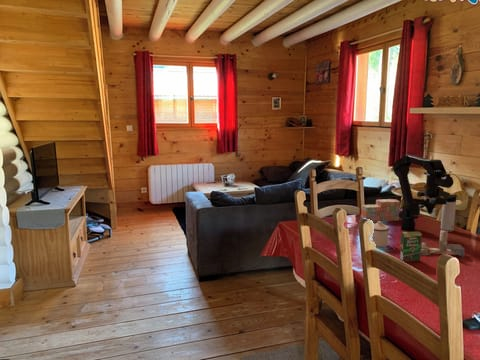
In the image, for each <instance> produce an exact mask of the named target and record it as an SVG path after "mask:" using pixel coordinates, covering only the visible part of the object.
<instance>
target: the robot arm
mask: <svg viewBox="0 0 480 360" xmlns="http://www.w3.org/2000/svg"><path fill="white" fill-rule="evenodd" d="M412 165H416V166H419V167H422V168H423V170H426V171H424V172H423V175H426V181H425V184H424V186H423V188H425V190H420V191H417V194H416V197H418V198H421V197H423V198H422V200H421V201H422V202H423V204H424V206H425V208H426V211H427V214H429V215H431V214H433V211H434V210H435V208H436V206H437V205H439V206H440V205H442V206H443V205H445V204H447V200H446V199H448V197H449V195H451V193H450V192H448V191H445V190H444V188H446V189H449V188H452V186H453V185H454V179H453V177H452V174H451V173H448V172H447V170H446V167H445V166H444V164H443V161H442V160H440V159H435V158H433V159H427V158H424V157H421V156H419V155H414V154H411V153H410V154H404V155H403V156H401V157H400V158H399V159H396V160H395V161H394V163H392V170H393V173H394V174H395V176H396V177H397V178H398V183H399V187H400V191H401V194H402V199H403V204H402V205H401V206H402V207H401V208H402V210H400V212H399V219H401V226H400V230H404V231H409V232H415V231H414V230H415V229H416V220H418V218H419V215H420V214H421V211H420V210H421V208H420V204H419V202H417V201H415V200H414V197H413V192H412V188H411V183H410V180H409V176H408V175H409V172H410V168H411V166H412ZM444 198H446V199H444Z"/></svg>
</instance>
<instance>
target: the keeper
mask: <svg viewBox="0 0 480 360" xmlns="http://www.w3.org/2000/svg"><path fill="white" fill-rule="evenodd" d="M447 247H448V248H449V249H450V250H451V251H456V252H457V253H456V255H458V256H459V257H460V259H465V254H466V253H465V251H466V249H465V248H464V247H463V246H462V245H461V244H459V243H458V244H455V243H447Z"/></svg>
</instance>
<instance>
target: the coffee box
mask: <svg viewBox="0 0 480 360" xmlns="http://www.w3.org/2000/svg"><path fill="white" fill-rule="evenodd" d="M400 234H401V236H400V255H399V258H400V261H402V262H403V261H404V262H406V263H407V262H421V255H420V253H421V246H422V234H423V233H421V231H402V232H401V233H400Z"/></svg>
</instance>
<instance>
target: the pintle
mask: <svg viewBox="0 0 480 360" xmlns="http://www.w3.org/2000/svg"><path fill="white" fill-rule="evenodd" d="M426 245H427V243H426V242H422V241H421V246H422V249H425V248H426V247H427V246H426ZM430 255H432V253H430V254H427V253H420V256H430Z"/></svg>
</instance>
